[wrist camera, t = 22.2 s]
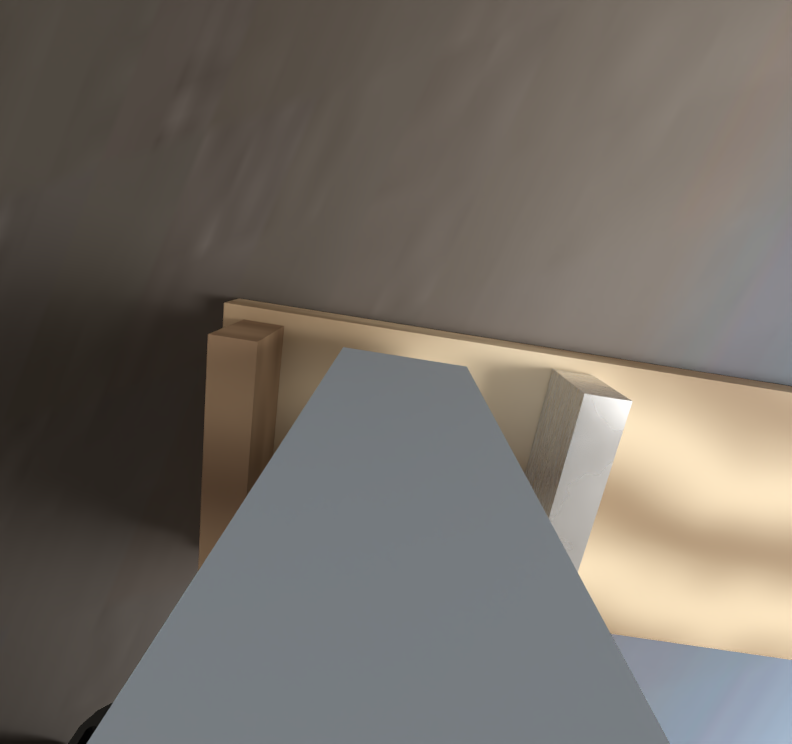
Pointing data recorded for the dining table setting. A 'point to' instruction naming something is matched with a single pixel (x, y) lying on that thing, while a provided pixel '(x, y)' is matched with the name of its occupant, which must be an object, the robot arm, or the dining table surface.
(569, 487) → the sliding bookend
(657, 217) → the dining table surface
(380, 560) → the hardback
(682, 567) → the shelf board
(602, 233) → the dining table surface
